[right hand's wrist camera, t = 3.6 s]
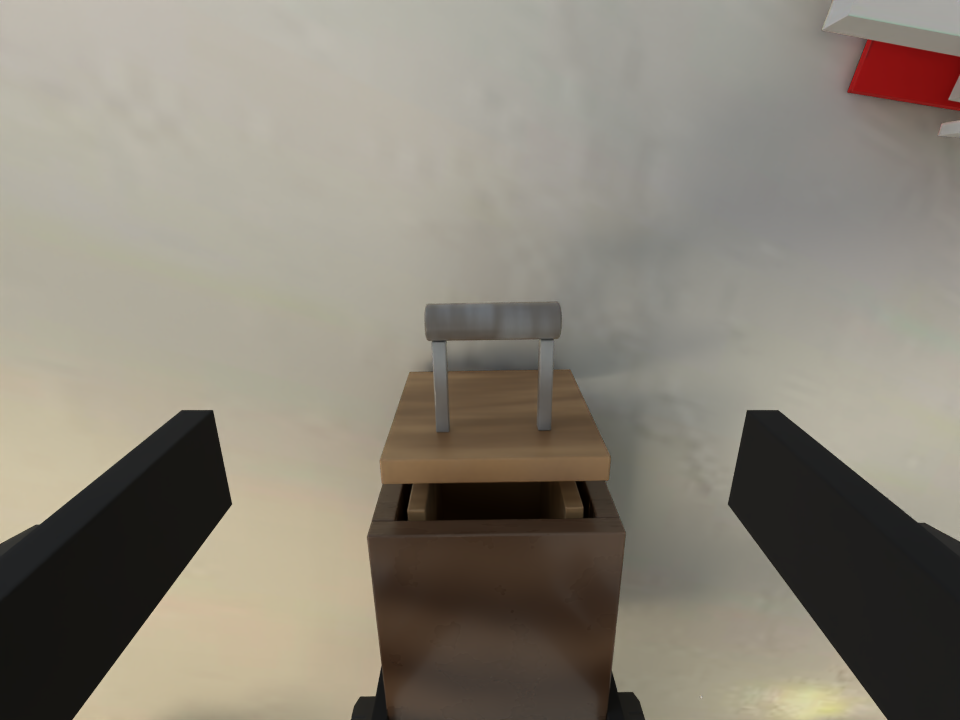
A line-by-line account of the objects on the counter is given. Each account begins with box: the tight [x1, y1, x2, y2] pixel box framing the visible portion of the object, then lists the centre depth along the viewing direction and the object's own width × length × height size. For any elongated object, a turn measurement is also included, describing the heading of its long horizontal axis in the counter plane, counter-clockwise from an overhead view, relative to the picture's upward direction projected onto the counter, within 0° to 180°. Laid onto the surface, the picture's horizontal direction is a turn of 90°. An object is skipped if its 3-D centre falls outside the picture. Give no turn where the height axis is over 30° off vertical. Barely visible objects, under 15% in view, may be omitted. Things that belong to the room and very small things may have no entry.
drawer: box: [380, 302, 611, 521], centre depth 27 cm, size 21×10×10 cm, turn 1°
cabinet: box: [367, 481, 626, 720], centre depth 29 cm, size 16×11×12 cm
